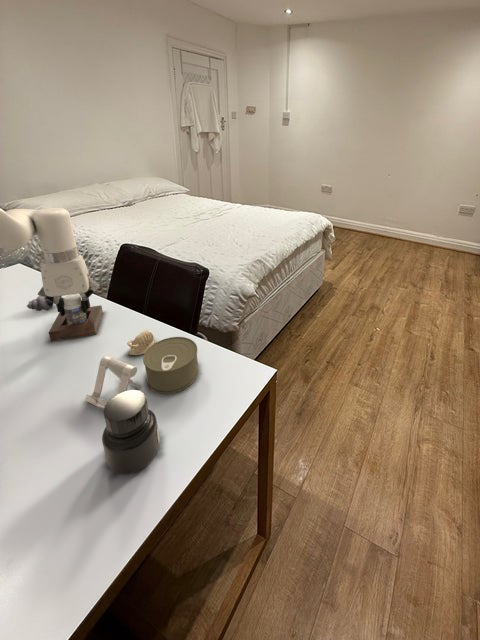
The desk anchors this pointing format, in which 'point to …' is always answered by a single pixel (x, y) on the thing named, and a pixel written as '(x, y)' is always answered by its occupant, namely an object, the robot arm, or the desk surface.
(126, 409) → the ink bottle
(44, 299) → the seashell
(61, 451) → the desk surface
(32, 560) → the desk surface
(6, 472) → the desk surface
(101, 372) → the tablet stand
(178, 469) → the desk surface
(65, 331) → the holder
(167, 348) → the can
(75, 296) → the pill bottle
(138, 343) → the decorative ornament
